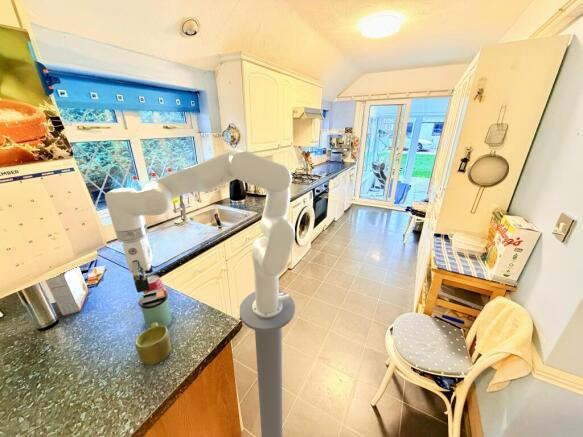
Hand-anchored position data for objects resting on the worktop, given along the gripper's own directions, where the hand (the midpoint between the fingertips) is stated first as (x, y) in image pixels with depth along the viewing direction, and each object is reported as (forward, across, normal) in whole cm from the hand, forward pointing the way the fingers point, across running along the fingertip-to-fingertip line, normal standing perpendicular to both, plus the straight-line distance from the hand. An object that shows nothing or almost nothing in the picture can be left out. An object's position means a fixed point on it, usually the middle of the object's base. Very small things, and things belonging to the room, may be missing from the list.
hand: (145, 281), depth 73 cm
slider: (+13, +9, -2) cm, 16 cm away
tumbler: (+25, +9, +1) cm, 26 cm away
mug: (+25, -4, +1) cm, 25 cm away
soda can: (+25, +22, +3) cm, 33 cm away
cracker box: (+25, +35, +34) cm, 55 cm away
